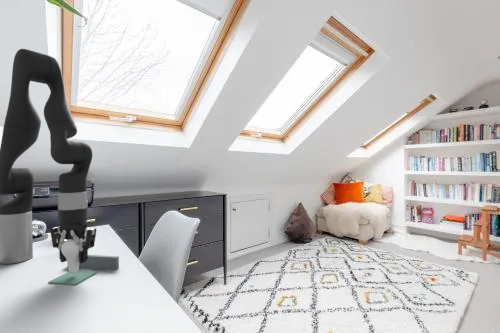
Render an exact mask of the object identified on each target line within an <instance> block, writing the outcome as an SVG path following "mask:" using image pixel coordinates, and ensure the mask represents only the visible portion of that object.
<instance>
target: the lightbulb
mask: <svg viewBox="0 0 500 333" xmlns="http://www.w3.org/2000/svg"><path fill="white" fill-rule="evenodd" d="M79 240H82V239H79ZM82 244H83V243H82ZM83 246H84V244H83ZM61 251H62V254H63V255H64V256H65V258H66V260H67V261H66V262H67V263H66V264H68V265H67V267H68V266H69V267H68V272H70V273H72V274H74V273H76V272H77V271H78V270H80V268H79V264H80V263H79V251H80V250H79V247H78V245H76V244H75V241H74V240H72V239H68V240H66V241H65V242H64V243H63V245H62V247H61Z"/></svg>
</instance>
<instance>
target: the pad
mask: <svg viewBox="0 0 500 333" xmlns="http://www.w3.org/2000/svg"><path fill="white" fill-rule="evenodd" d="M98 272H99V271H98V270H81V269H79V270H78V271H77V272H76V273H74V274H72V273H70V272H69V271H67V272H66V273H65V272H64V274H61V275H59V276H57V277H55V278H53V279H52V280H49V281H47V284H50V285H51V284H52V285H67V286H78V285H79V284H81V283H82V282H84V281H86V280H87V279H90V278H91V277H93V276H95V275H96V274H98Z"/></svg>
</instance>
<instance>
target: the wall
mask: <svg viewBox="0 0 500 333" xmlns="http://www.w3.org/2000/svg"><path fill="white" fill-rule="evenodd" d="M66 264H67V263H66ZM67 268H69V266H68V264H67ZM79 269H97V270H99V269H100V270H114V271H116V270H118V269H120V256H116V255H102V254H101V255H100V254H88V259H87V260H86V262H84V263H80V264H79Z"/></svg>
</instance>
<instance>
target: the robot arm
mask: <svg viewBox="0 0 500 333" xmlns="http://www.w3.org/2000/svg"><path fill="white" fill-rule="evenodd" d="M12 63H13V64H12V73H11V84H10V94H9V95H10V96H9V101H8V105H7V109H6V113H5V117H4V118H5V119H4V123H3V128H2V134H1V135H2V136H1V141H0V195H2V196H4V195H5V196H6V195H15V194H16V195H17V196H16V197H15V198H13V199H12V200H10V201H8V202H5V203H3V204H0V264H1V265H10V264H18V263H22V262H26V261H28V260H31V259H32V258H33V256H34V254H33V253H34V252H33V251H34V248H33V247H34V246H33V245H34V242H33V240H34V239H33V202H34V184H35V183H34V182H35V180H34V174H33V171H32V170H31V169H30V168H27V167H26V168H25V167H21V168H17V167H16V168H15V167H14V168H13V166H14V164H15V162H16V161H17V160H18V158H20V157H21V156H22V154H24V153H25V152H27V151H28V150H29V149H30V148H31V147H32V146H33V145H34V144H36V142H37V140H38V138H39V135H40V134H39V133H40V130H41V127H42V126H41V125H42V120H41V117H40V114H39V112H38V110H37V109H36V107H35V105H34V103H33V101H32V99H31V97H30V83H31V82H35V83H39V84H45V85H47V86H48V88H49V91H50V94H49V96H48V98H47V100H46V102H45V105H44V108H43V117H44V120H45V123H46V125H47V128H48V130H49V134H50V135H49V136H50V155H51V159H53V161H54V162H55V163H57V164H59V165H73V166H72V167H71V169H70V170H69V171H67V172H63V173H60V175H59V176H58V198H57V222H58V224H59V226H56V227H51V228H50V230H49V231H50V237H51V244H52V247H53V248H55V249H56V248H57V250H59V252H58V253H59V260H60V263H65V262H67V260H66V258H65V256H64V255H63V254H62V251H61V247H62V245H63V243H64V242H65V241H66V240H68V239H72V240H74V241H75V244H76V245H78V247H79V250H80V251H79V263H84V262H86V260H87V259H88V255H89V252H88V251H89V249H91V248H93V247H94V246H95V241H96V235H97V228H96V227H93V228H90V227H88V225H87V222H88V218H89V216H88V212H89V211H88V210H89V208H88V207H89V206H88V194H87V178H88V174H89V170H90V167H91V164H92V161H93V149H92V148H91V145H89V143H87V142H84V141H73V140H68V139H71V138H73V137H75V136H76V135H77V134H78V129H77V125H76V122H75V120H74V118H73V115H72V112H71V110H70V107H69V104H68V99H67V95H66V94H67V93H66V87H65V83H64V77H63V73H62V72H63V71H62V69H61V66H60V63H59V61H58V60H57V59H56V58H55V57H53V56H51V55H48V54H44V53H40V52H37V51H34V50H30V49H26V48H20V49H18V50H17V51H16V53H15V55H14V58H13V62H12ZM85 233H86V234H85ZM81 238H82V240H79V239H81ZM82 243H83V244H84V246H83V244H82Z"/></svg>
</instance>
